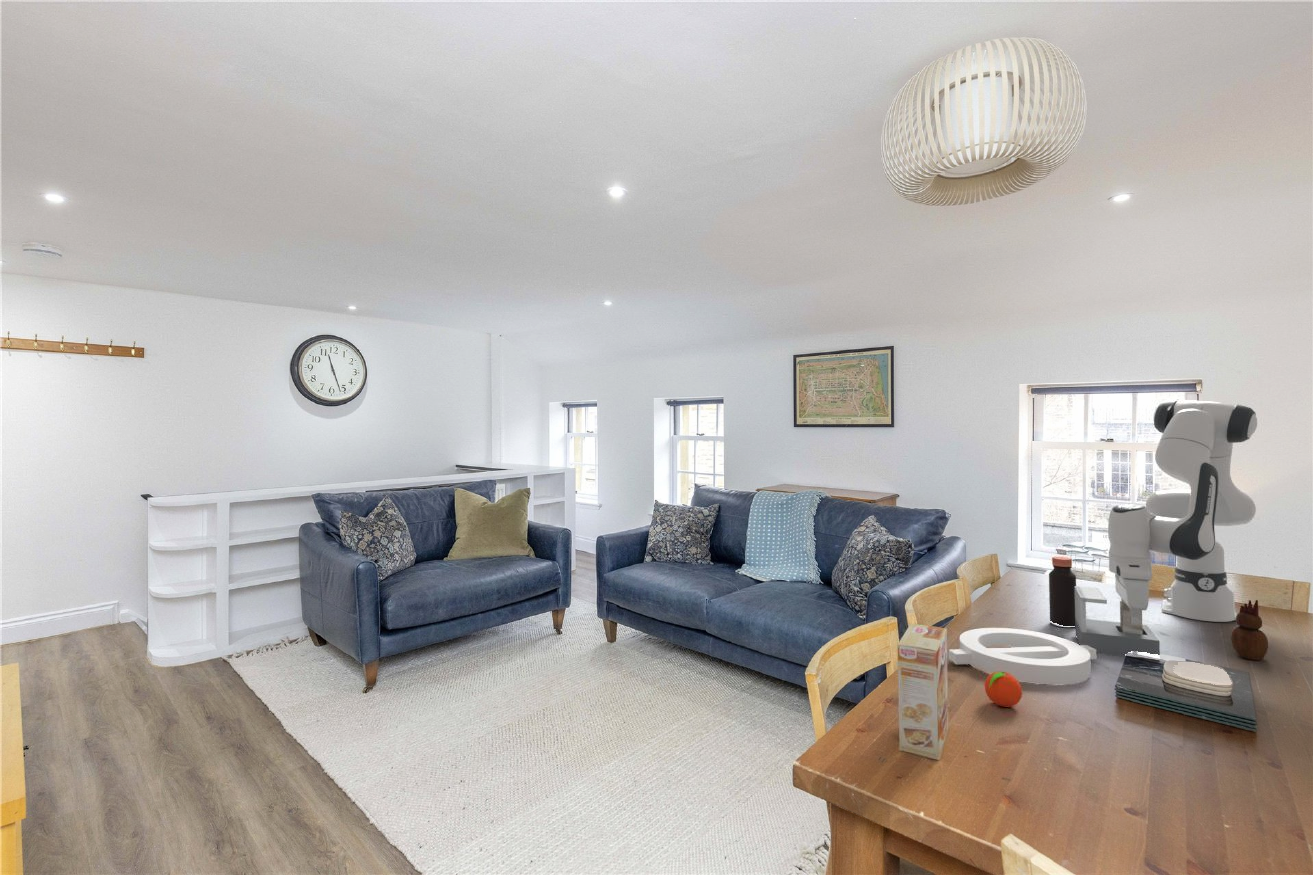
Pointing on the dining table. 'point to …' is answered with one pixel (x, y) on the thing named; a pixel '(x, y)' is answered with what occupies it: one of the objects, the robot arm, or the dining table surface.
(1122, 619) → the peg
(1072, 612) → the bottle
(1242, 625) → the wooden figurine
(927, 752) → the coffeecake box
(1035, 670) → the ring with crossbar
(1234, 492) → the robot arm
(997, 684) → the clementine
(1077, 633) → the socket block
